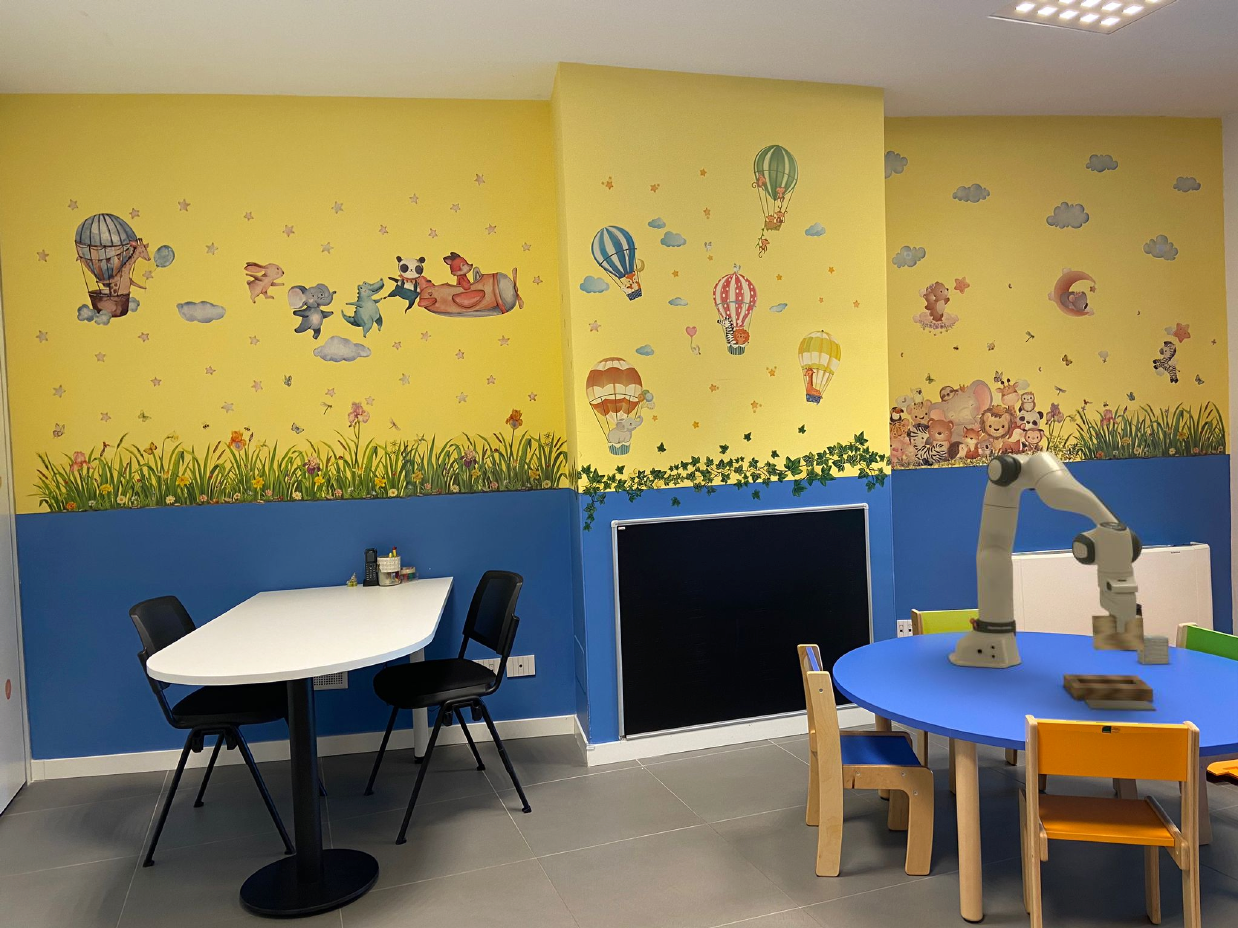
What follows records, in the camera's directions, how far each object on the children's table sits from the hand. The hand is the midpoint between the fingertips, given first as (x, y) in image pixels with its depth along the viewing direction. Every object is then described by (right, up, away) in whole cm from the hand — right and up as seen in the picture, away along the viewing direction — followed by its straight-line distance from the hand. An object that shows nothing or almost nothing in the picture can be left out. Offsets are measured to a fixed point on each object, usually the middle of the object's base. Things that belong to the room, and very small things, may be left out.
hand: (1117, 630), depth 246 cm
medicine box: (+35, -18, +41) cm, 56 cm away
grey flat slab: (+1, -21, +1) cm, 21 cm away
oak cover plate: (0, -5, 0) cm, 5 cm away
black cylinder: (+37, -18, +61) cm, 73 cm away
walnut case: (+4, -21, +12) cm, 24 cm away
